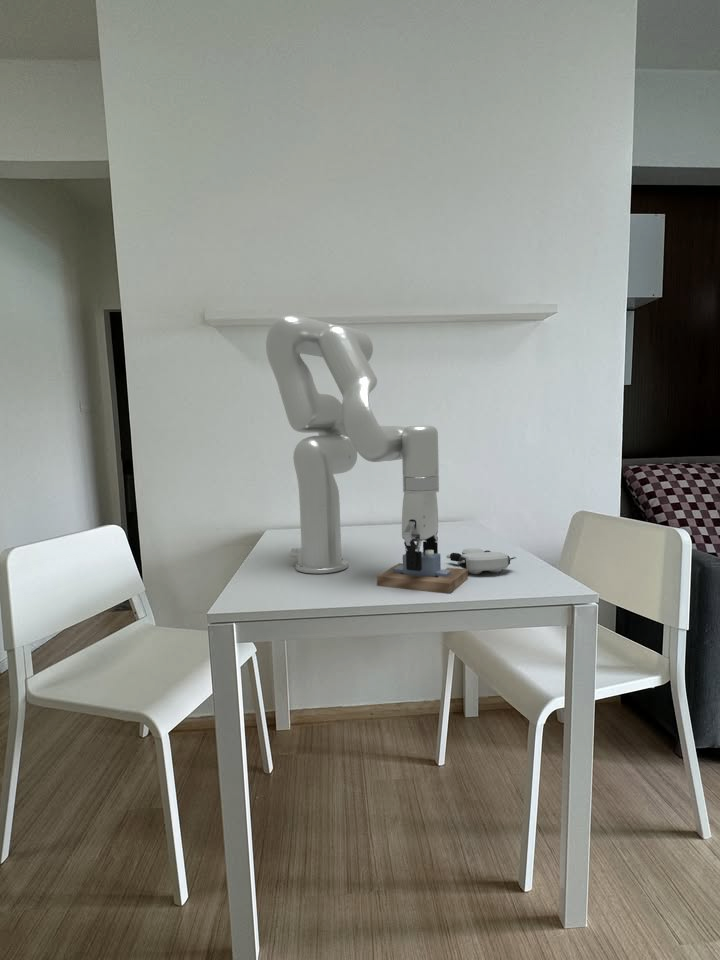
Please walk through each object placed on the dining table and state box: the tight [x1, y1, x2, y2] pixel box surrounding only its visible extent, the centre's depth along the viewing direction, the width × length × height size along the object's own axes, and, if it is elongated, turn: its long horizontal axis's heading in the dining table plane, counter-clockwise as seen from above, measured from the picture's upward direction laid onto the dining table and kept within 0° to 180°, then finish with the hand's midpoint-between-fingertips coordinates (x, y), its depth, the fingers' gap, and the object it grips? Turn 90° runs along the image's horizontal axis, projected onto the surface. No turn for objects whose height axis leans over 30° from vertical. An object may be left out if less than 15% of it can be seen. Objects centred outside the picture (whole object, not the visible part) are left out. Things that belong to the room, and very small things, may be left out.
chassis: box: [376, 562, 469, 594], centre depth 117 cm, size 16×12×2 cm
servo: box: [393, 550, 451, 578], centre depth 117 cm, size 12×4×7 cm, turn 62°
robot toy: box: [445, 547, 517, 575], centre depth 127 cm, size 12×4×15 cm
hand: (422, 564), depth 117 cm, fingers open, 9 cm apart
